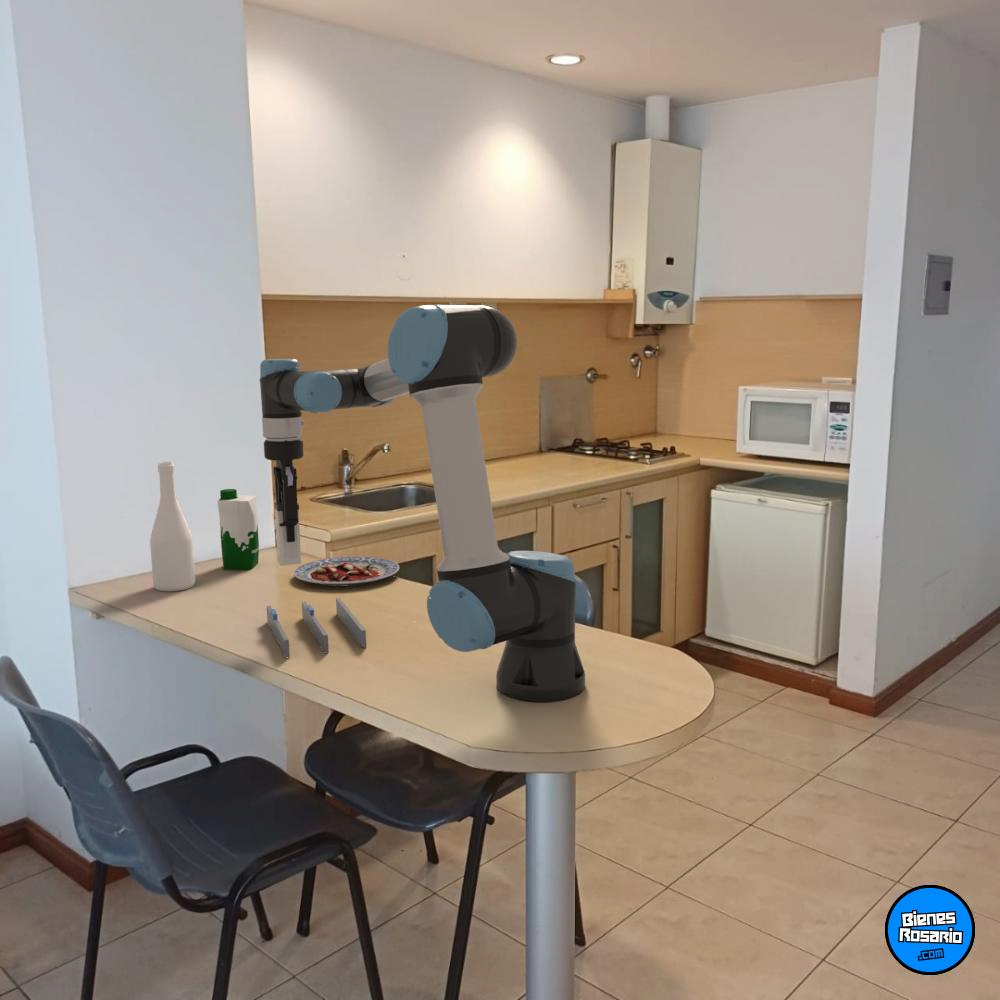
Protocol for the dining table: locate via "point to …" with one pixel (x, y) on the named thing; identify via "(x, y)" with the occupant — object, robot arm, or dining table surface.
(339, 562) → the ceramic plate
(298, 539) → the block
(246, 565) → the milk carton
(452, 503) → the robot arm
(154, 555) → the wine bottle
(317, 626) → the grey upright slats
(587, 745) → the dining table surface
